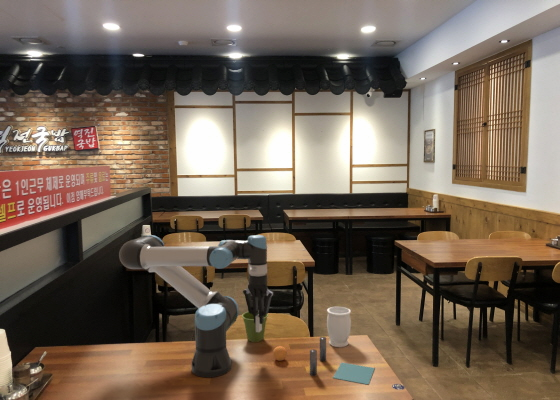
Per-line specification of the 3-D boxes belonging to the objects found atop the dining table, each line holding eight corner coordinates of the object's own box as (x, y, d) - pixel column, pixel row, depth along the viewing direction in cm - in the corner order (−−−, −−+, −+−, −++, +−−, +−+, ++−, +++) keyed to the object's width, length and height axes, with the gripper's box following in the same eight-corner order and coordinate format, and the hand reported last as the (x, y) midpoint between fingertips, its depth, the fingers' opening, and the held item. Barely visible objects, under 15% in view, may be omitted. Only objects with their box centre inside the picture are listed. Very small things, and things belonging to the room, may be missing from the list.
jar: (350, 349, 180) (350, 315, 179) (325, 347, 182) (325, 313, 181) (351, 339, 190) (351, 306, 189) (327, 337, 192) (328, 305, 191)
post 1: (308, 375, 158) (308, 351, 157) (311, 372, 160) (311, 348, 160) (315, 376, 157) (315, 352, 156) (317, 373, 159) (317, 350, 159)
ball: (270, 361, 169) (270, 348, 169) (276, 356, 174) (276, 342, 174) (283, 364, 167) (283, 350, 166) (288, 358, 172) (288, 345, 172)
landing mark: (332, 378, 156) (332, 377, 156) (341, 362, 168) (341, 362, 168) (368, 384, 151) (368, 384, 151) (374, 368, 163) (374, 368, 163)
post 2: (318, 360, 170) (318, 338, 169) (320, 358, 172) (320, 336, 171) (325, 361, 169) (325, 339, 168) (326, 359, 171) (326, 337, 170)
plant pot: (260, 332, 199) (260, 308, 198) (273, 341, 189) (273, 316, 188) (237, 337, 193) (237, 313, 192) (249, 346, 183) (248, 321, 182)
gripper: (239, 274, 170) (240, 332, 172) (269, 277, 165) (269, 336, 167) (247, 270, 177) (248, 325, 179) (276, 273, 172) (277, 329, 174)
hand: (258, 330), depth 173 cm, fingers closed
